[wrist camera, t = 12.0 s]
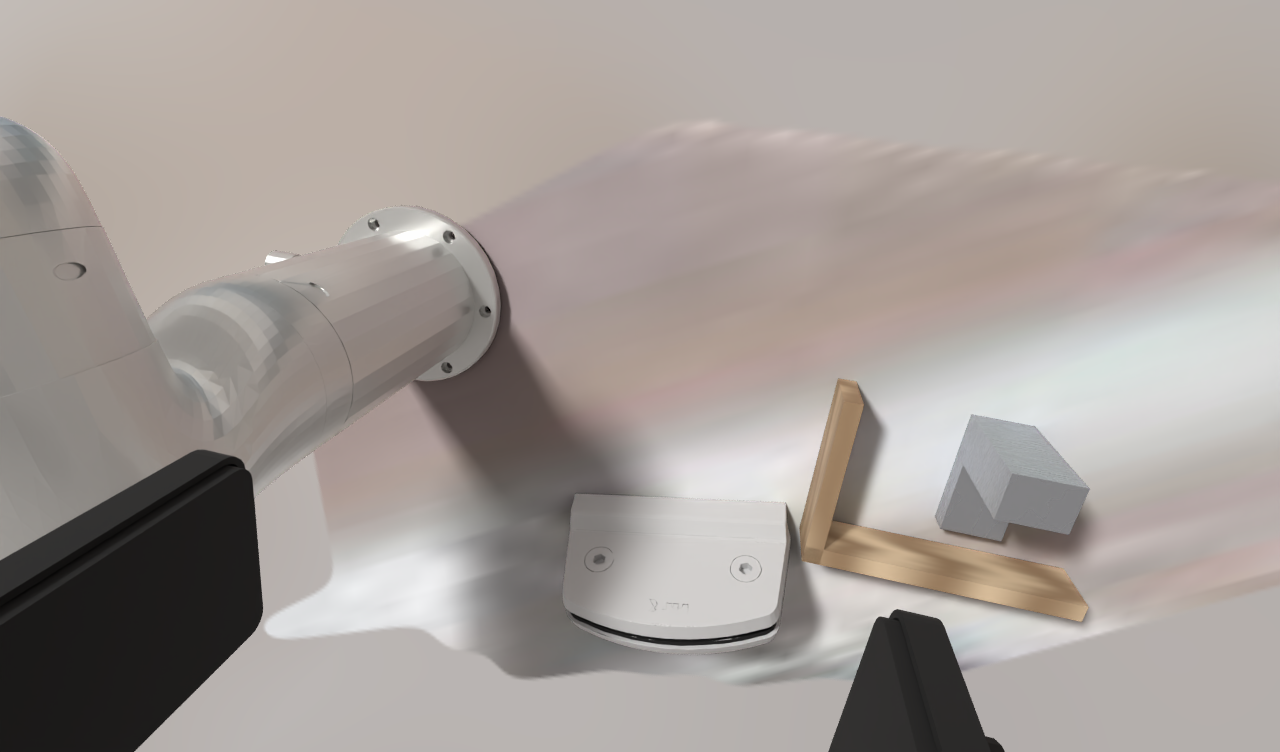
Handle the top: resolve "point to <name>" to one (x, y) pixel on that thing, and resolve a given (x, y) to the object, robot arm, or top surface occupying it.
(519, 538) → the top surface
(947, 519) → the bracket
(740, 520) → the hinge
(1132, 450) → the top surface
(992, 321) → the top surface
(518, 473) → the top surface
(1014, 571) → the wooden corner frame
